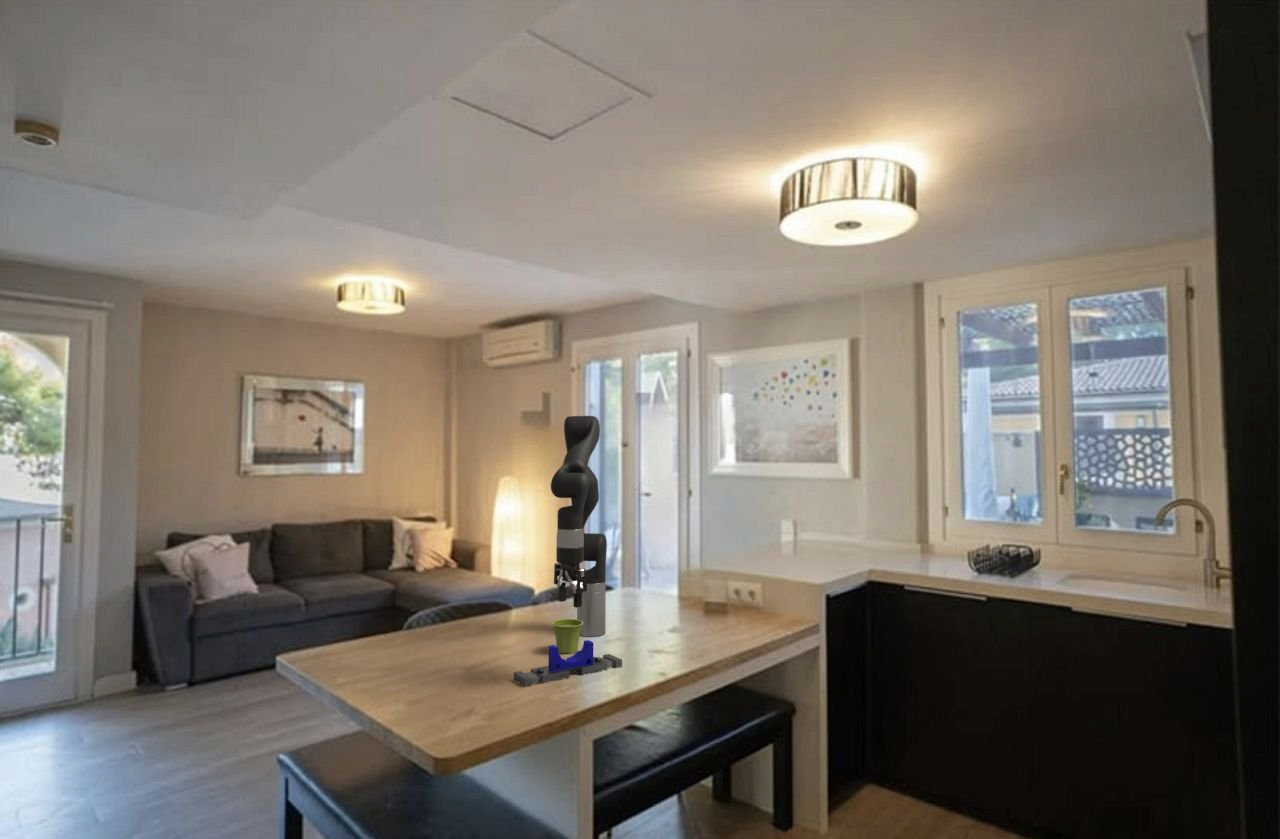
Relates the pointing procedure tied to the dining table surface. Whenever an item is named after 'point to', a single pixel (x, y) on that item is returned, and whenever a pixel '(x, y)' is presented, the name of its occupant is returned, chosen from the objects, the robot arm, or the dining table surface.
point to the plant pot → (567, 634)
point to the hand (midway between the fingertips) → (569, 604)
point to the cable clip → (574, 661)
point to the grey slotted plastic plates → (565, 671)
